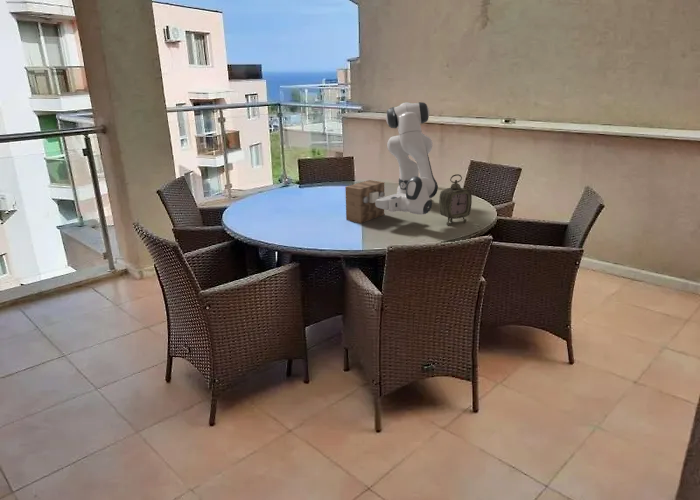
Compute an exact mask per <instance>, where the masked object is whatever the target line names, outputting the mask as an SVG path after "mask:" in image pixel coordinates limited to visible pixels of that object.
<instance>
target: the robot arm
mask: <svg viewBox="0 0 700 500" xmlns="http://www.w3.org/2000/svg"><path fill="white" fill-rule="evenodd" d="M429 108H430V107H428V105H427V104H426V102H422V101H421V102H419V101H418V102H415V103H411V102H408V101H407V102H402V103H400V104H399V105H398V106H395V107H394V106H393V107H390V108H387V110H386V114H385V121H386V124H387V125H388V127H389V128H391V129H397V131H398V135H393V136H390V137H389V138H388V140H387V143H386V144H387V145H386V147H387V150H388V152H389V153H390V154H391V155H392V156H394V158H395V160H396V161H397V163H398V169H399V178H398V186H397V189H396V193H393V194H390V195H387V196H386V195H385V196H380V197H378V199H377V200H376V201H375V205H376V207H377V208H381V209H384V211H385V210H386V211H387V210H388V212H391V213H393V212H404V213H407V212H409V213H410V214H415V215H426V214H428V213H429V212H430V211H431V209H432V207H433V201H432V200H431V199H432V198H434V197H435V196H436V194H437V192H438V190H439V186H438V185H439V184H438V182H437V180H436V178H435V177H434V175H433V170H432V166H431V162H430V157H429V154H430V153H431V151H432V150H433V140H432V138H431V137H430V136H427V135H425V134H424V133H423V132H422V124H424V123H427V122H428V121H429V119H430V109H429ZM409 156H410V157H411V158H413V159H414V160H413V159H411V158H409Z"/></svg>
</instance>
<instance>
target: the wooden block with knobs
mask: <svg viewBox="0 0 700 500" xmlns="http://www.w3.org/2000/svg"><path fill="white" fill-rule="evenodd" d="M373 191H376V192H378V193H379V197H380V196H386V194H385V182H384V181H379V180H373V179H368V180H365V181H362V182H361V181H360V182H358V183H354V184H350V185H347V186H345V212H346V213H345V215H346V217H345V218H346V221H350V222H354V223H359V224H363V223H365V222H369V221H371V220H373V219H376V218H379V217H382V216H384V215H385V209H381V208H377V207H376V205H375V202H374V203H369V192H373Z"/></svg>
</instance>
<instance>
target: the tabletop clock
mask: <svg viewBox="0 0 700 500" xmlns="http://www.w3.org/2000/svg"><path fill="white" fill-rule="evenodd" d="M453 177H460V179H459V180H457V179H454V181H453V180H452V179H453ZM462 179H463V177H462V175H461V174H453V175H452V176H451V177H450V179H449V180H450V183H452V184H451V186H450V187H447V188H444V189H443V190H440V193H439V197H438V198H439V200H438V209H439V214H440V215H441V216H444V217H445V218H447V222H446V224H445V225H446V226H450V222H453V221H454V220H456V219H457V220H458V219H462V220H463V223H467V221H468V219H466V218H465V217H468V216H470V214H471V210H472V203H473V202H472V199H473V197H472V196H473V195H472V190H470V189H466V188H463V187H461V184H460V182H462Z"/></svg>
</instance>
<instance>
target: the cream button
mask: <svg viewBox="0 0 700 500" xmlns="http://www.w3.org/2000/svg"><path fill="white" fill-rule="evenodd" d="M378 197H379V193H378V192H376V191H373V192H369V203H374V202H375V201H376V200H377V199H378Z"/></svg>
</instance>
